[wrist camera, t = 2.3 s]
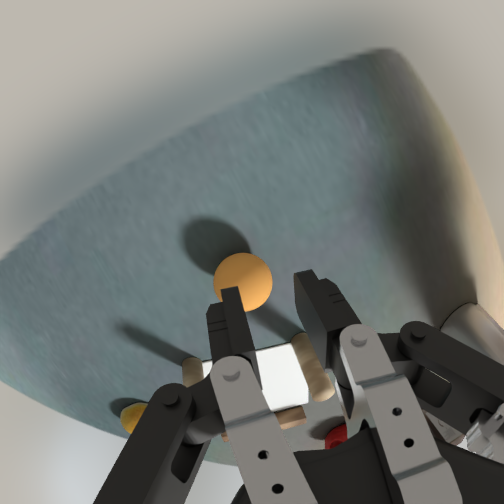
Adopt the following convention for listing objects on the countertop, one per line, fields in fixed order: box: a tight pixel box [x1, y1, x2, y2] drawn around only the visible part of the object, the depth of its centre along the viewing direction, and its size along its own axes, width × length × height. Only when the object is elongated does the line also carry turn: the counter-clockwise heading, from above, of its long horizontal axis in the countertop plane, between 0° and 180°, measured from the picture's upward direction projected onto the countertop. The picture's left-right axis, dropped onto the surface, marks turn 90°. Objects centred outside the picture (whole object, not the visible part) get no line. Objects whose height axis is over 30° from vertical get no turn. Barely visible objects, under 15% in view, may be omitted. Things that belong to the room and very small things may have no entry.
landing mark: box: [202, 342, 308, 412], centre depth 43 cm, size 16×16×1 cm
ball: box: [214, 253, 272, 311], centre depth 30 cm, size 6×6×6 cm
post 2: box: [291, 333, 335, 401], centre depth 36 cm, size 3×3×9 cm
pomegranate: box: [325, 423, 348, 449], centre depth 54 cm, size 10×10×9 cm
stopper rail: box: [221, 406, 306, 442], centre depth 47 cm, size 14×2×2 cm, turn 98°
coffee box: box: [421, 408, 465, 446], centre depth 50 cm, size 9×6×16 cm
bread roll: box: [120, 402, 148, 433], centre depth 42 cm, size 8×9×4 cm
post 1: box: [182, 357, 204, 387], centre depth 35 cm, size 3×3×9 cm
